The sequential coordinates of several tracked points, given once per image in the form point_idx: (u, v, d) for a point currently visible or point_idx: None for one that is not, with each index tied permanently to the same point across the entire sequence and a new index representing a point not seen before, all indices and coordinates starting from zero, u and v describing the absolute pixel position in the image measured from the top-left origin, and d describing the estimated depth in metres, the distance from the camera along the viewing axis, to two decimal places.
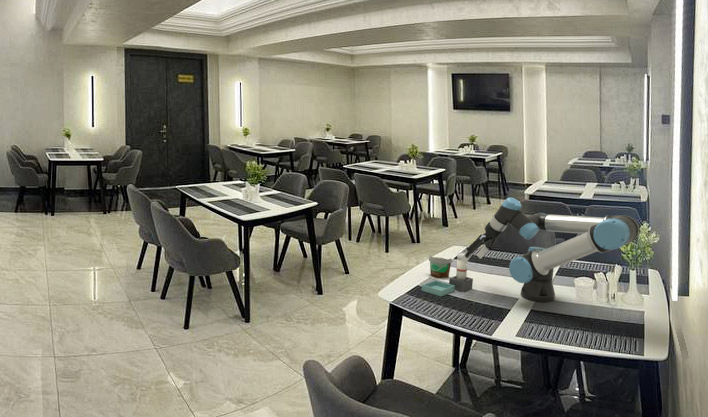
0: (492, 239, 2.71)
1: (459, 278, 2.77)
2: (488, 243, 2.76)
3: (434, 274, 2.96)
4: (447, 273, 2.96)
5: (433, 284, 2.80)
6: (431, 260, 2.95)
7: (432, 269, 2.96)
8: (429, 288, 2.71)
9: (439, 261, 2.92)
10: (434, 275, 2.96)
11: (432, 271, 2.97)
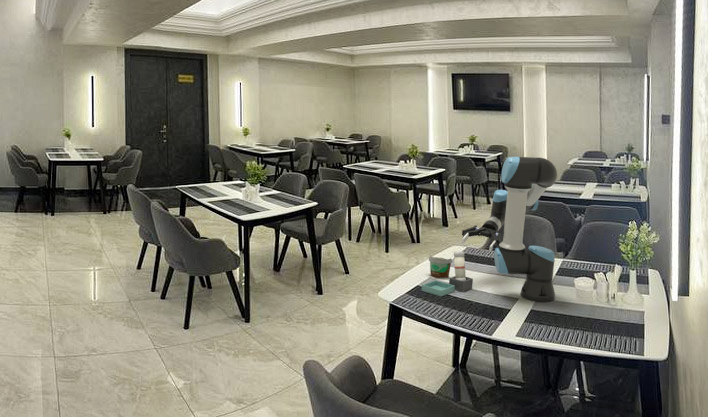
0: (489, 229, 2.86)
1: (458, 275, 2.78)
2: (492, 237, 2.82)
3: (434, 274, 2.96)
4: (447, 273, 2.96)
5: (433, 284, 2.80)
6: (431, 260, 2.95)
7: (432, 269, 2.96)
8: (429, 288, 2.71)
9: (439, 261, 2.92)
10: (434, 275, 2.96)
11: (432, 271, 2.97)
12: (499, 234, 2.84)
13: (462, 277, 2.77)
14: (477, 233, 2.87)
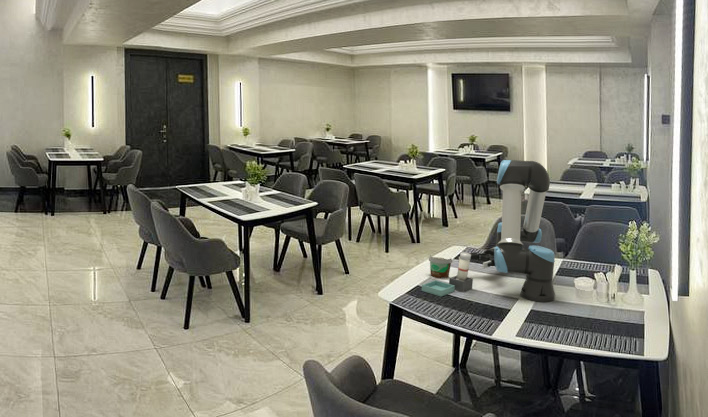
0: (489, 254, 2.94)
1: (460, 277, 2.77)
2: (490, 260, 2.88)
3: (434, 274, 2.96)
4: (447, 273, 2.96)
5: (433, 284, 2.80)
6: (431, 260, 2.95)
7: (432, 269, 2.96)
8: (429, 288, 2.71)
9: (439, 261, 2.92)
10: (434, 275, 2.96)
11: (432, 271, 2.97)
12: None
13: (463, 280, 2.77)
14: (477, 257, 2.95)
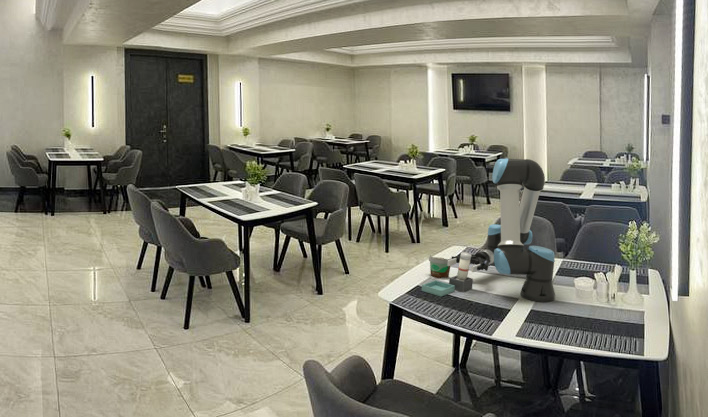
0: (479, 257, 2.87)
1: (460, 277, 2.77)
2: (479, 263, 2.82)
3: (434, 274, 2.96)
4: (447, 273, 2.96)
5: (433, 284, 2.80)
6: (431, 260, 2.95)
7: (432, 269, 2.96)
8: (429, 288, 2.71)
9: (439, 261, 2.92)
10: (434, 275, 2.96)
11: (432, 271, 2.97)
12: (487, 261, 2.83)
13: (464, 280, 2.77)
14: None
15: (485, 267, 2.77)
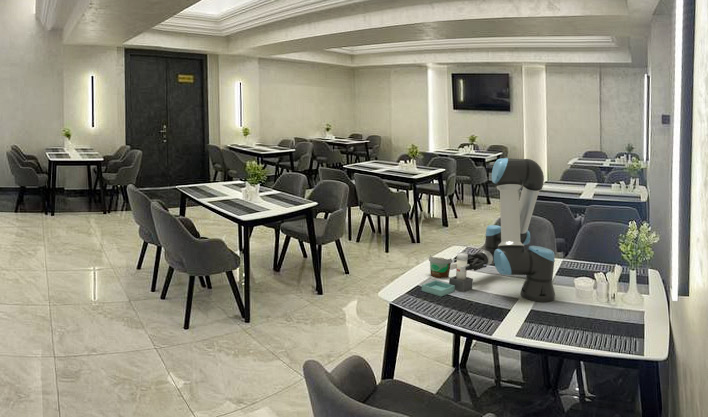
0: (477, 258, 2.85)
1: (459, 278, 2.77)
2: None
3: (434, 274, 2.96)
4: (447, 273, 2.96)
5: (433, 284, 2.80)
6: (431, 260, 2.95)
7: (432, 269, 2.96)
8: (429, 288, 2.71)
9: (439, 261, 2.92)
10: (434, 275, 2.96)
11: (432, 271, 2.97)
12: (482, 262, 2.81)
13: (463, 280, 2.77)
14: (467, 262, 2.84)
15: (473, 267, 2.76)
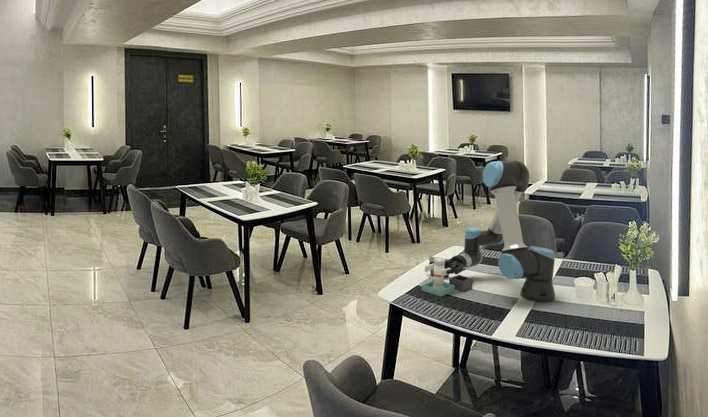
0: (455, 261, 2.80)
1: (436, 283, 2.72)
2: (452, 267, 2.75)
3: None
4: None
5: None
6: (431, 260, 2.95)
7: None
8: (429, 288, 2.71)
9: None
10: None
11: (432, 271, 2.97)
12: (462, 265, 2.76)
13: (440, 285, 2.72)
14: None
15: (455, 271, 2.70)
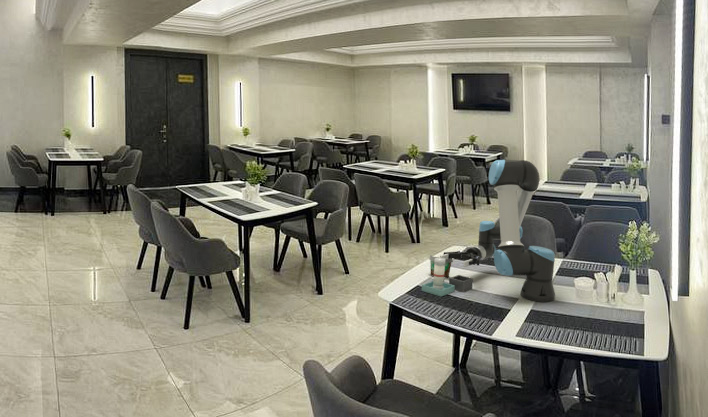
0: (471, 253, 2.90)
1: (436, 283, 2.72)
2: (471, 258, 2.84)
3: None
4: (447, 273, 2.96)
5: None
6: (432, 259, 2.96)
7: (432, 268, 2.96)
8: (429, 288, 2.71)
9: None
10: None
11: (432, 270, 2.97)
12: (479, 256, 2.86)
13: (440, 285, 2.72)
14: (458, 256, 2.91)
15: (477, 262, 2.79)
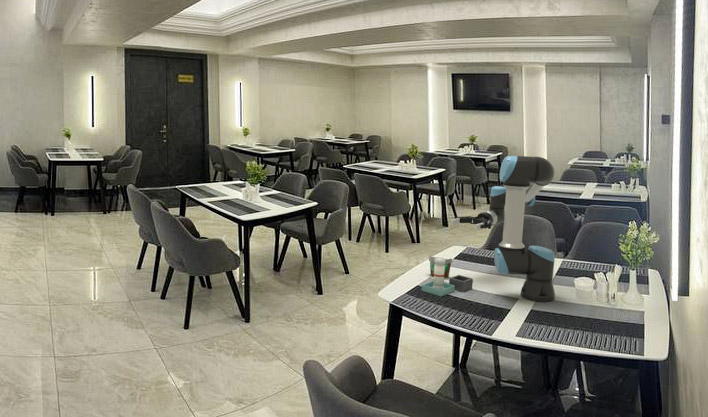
0: (482, 217, 2.88)
1: (436, 283, 2.72)
2: (482, 222, 2.83)
3: None
4: (447, 273, 2.96)
5: None
6: (431, 260, 2.95)
7: (432, 269, 2.96)
8: (429, 288, 2.71)
9: None
10: None
11: (432, 271, 2.97)
12: (490, 221, 2.85)
13: (440, 285, 2.72)
14: (469, 220, 2.90)
15: (488, 225, 2.78)
